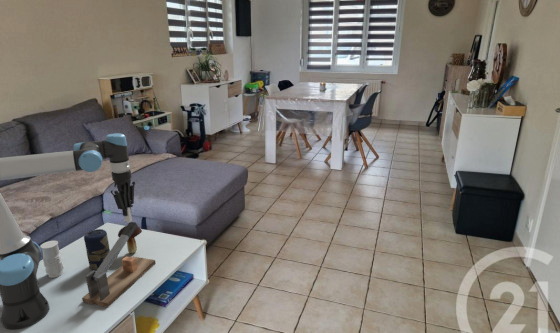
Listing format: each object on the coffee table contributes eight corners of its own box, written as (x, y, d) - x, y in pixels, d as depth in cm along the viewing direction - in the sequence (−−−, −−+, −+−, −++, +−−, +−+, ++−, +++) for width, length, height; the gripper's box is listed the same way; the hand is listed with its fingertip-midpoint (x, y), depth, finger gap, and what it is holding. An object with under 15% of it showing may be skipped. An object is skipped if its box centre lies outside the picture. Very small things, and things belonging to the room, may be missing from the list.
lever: (92, 281, 146) (90, 278, 144) (131, 224, 166) (129, 221, 165) (100, 283, 145) (97, 280, 143) (138, 225, 165) (136, 222, 164)
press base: (82, 302, 147) (77, 276, 143) (133, 260, 176) (130, 237, 173) (107, 307, 144) (103, 281, 140) (155, 263, 173) (152, 241, 170)
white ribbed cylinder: (44, 274, 166) (38, 244, 161) (61, 267, 171) (55, 238, 166) (49, 280, 161) (42, 250, 157) (66, 273, 166) (60, 244, 162)
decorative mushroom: (130, 260, 176) (126, 232, 171) (116, 254, 181) (111, 227, 177) (149, 250, 185) (145, 223, 180) (134, 244, 190) (131, 218, 186)
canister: (103, 272, 167) (96, 237, 161) (85, 270, 169) (78, 235, 163) (116, 261, 176) (110, 227, 170) (98, 259, 178) (92, 225, 172)
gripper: (117, 176, 147) (126, 229, 154) (138, 166, 159) (144, 216, 166) (102, 174, 149) (110, 227, 156) (123, 165, 161) (130, 214, 168)
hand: (128, 221), depth 161 cm, fingers closed
